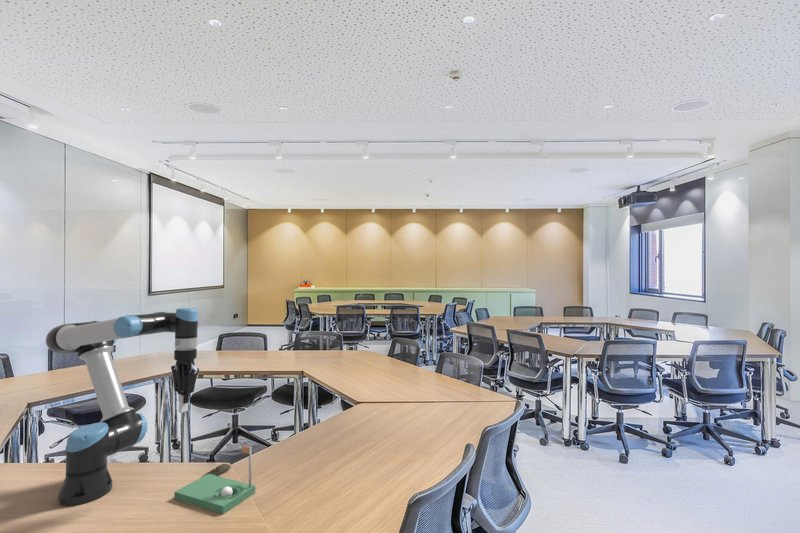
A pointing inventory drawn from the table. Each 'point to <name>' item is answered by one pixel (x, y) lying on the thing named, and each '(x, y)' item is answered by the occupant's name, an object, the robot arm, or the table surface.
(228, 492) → the ball
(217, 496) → the green
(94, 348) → the robot arm
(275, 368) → the table surface
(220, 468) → the stone
